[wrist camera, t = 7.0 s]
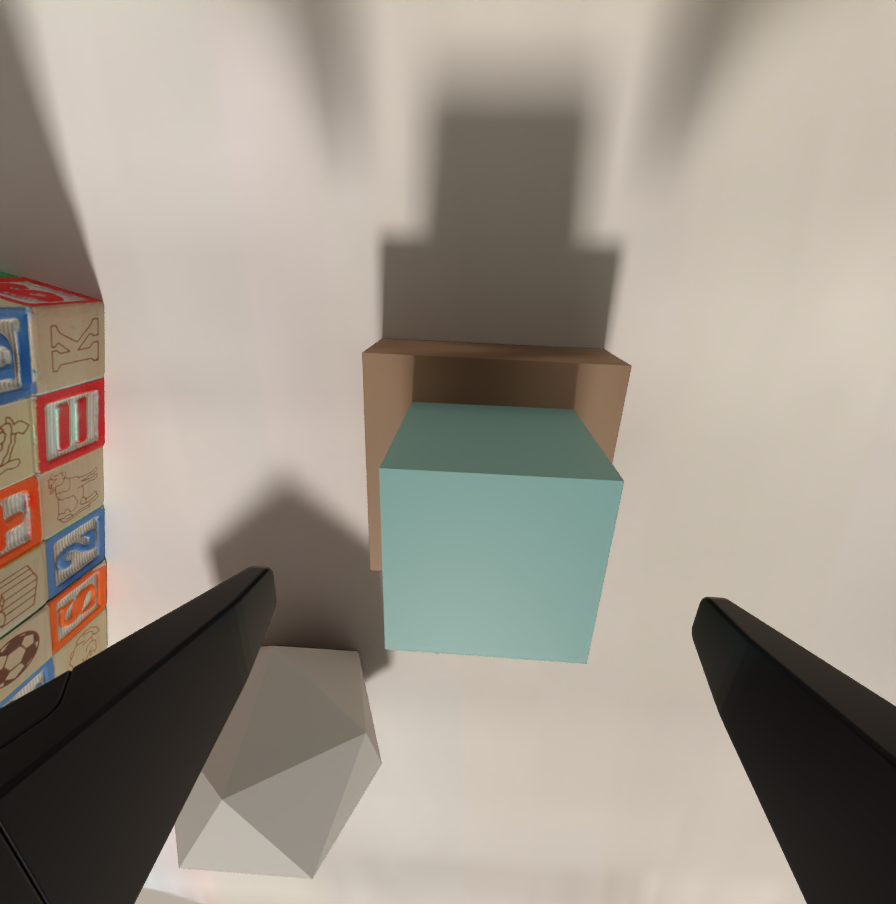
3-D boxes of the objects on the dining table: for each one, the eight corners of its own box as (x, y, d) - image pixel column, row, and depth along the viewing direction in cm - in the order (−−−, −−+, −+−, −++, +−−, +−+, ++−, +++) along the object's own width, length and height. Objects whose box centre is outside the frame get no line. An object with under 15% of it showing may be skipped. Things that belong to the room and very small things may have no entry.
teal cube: (573, 409, 13) (624, 481, 9) (553, 546, 15) (586, 663, 11) (412, 401, 14) (378, 468, 9) (412, 537, 16) (385, 649, 11)
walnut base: (603, 349, 16) (631, 365, 13) (571, 538, 19) (587, 585, 16) (382, 338, 16) (362, 352, 13) (385, 526, 19) (370, 570, 16)
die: (279, 564, 21) (59, 762, 15) (421, 671, 17) (201, 984, 12) (317, 638, 27) (166, 803, 21) (430, 731, 23) (285, 962, 17)
